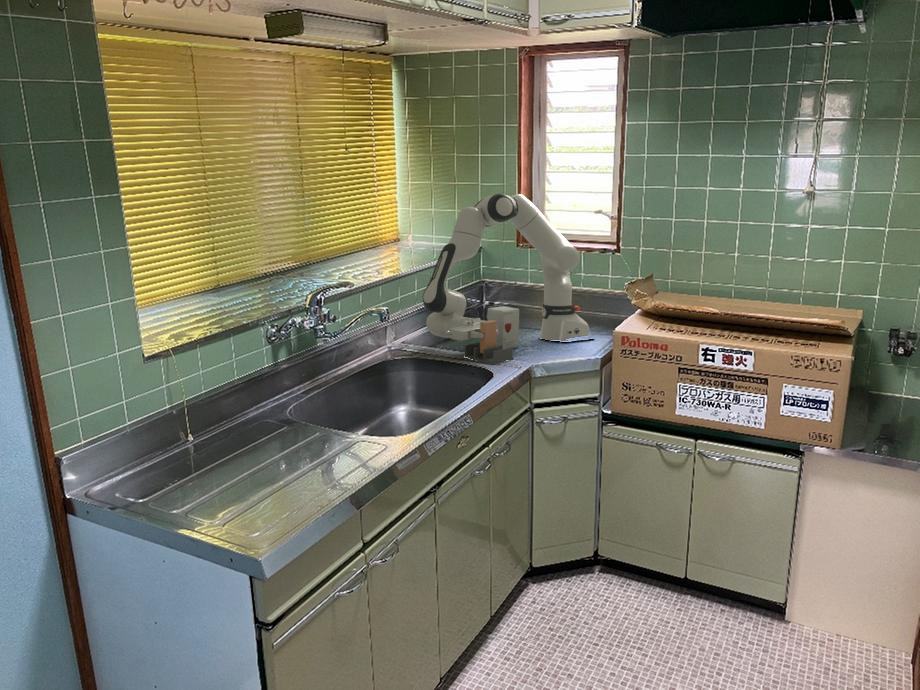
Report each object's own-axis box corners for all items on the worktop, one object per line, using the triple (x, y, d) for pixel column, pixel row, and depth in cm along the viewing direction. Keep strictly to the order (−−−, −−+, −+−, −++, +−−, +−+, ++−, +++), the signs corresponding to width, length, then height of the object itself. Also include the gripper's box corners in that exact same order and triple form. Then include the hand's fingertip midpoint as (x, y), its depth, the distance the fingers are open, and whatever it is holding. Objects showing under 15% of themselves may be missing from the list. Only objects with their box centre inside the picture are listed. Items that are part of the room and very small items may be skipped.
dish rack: (483, 353, 273) (483, 341, 272) (513, 359, 263) (513, 347, 262) (463, 358, 265) (463, 346, 264) (493, 364, 255) (493, 352, 254)
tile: (491, 350, 266) (491, 320, 264) (496, 351, 265) (496, 321, 262) (479, 352, 262) (480, 322, 260) (485, 353, 261) (485, 323, 258)
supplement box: (502, 350, 278) (503, 311, 275) (486, 346, 285) (486, 308, 281) (519, 347, 284) (520, 308, 281) (503, 343, 290) (503, 305, 287)
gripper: (441, 324, 263) (470, 329, 253) (480, 317, 277) (508, 321, 268) (441, 341, 264) (470, 347, 255) (480, 333, 279) (508, 338, 269)
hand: (490, 334), depth 262 cm, fingers closed on tile, 6 cm apart
